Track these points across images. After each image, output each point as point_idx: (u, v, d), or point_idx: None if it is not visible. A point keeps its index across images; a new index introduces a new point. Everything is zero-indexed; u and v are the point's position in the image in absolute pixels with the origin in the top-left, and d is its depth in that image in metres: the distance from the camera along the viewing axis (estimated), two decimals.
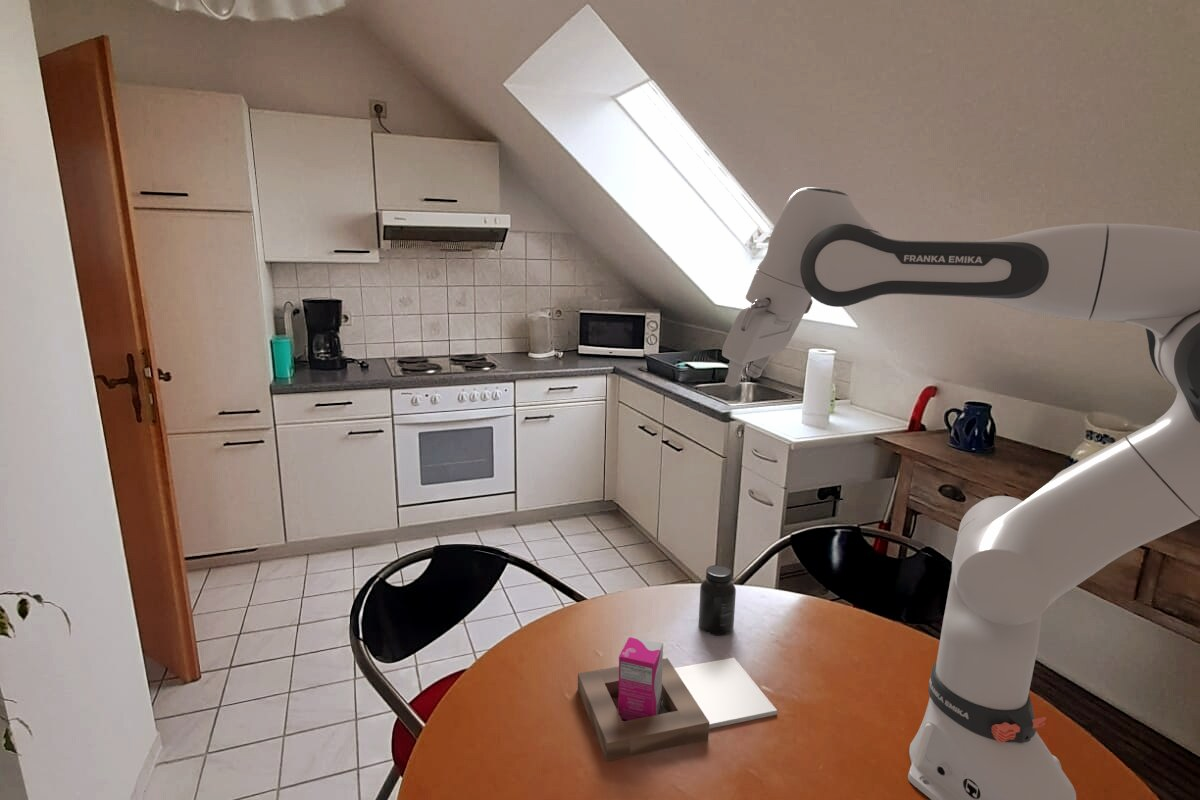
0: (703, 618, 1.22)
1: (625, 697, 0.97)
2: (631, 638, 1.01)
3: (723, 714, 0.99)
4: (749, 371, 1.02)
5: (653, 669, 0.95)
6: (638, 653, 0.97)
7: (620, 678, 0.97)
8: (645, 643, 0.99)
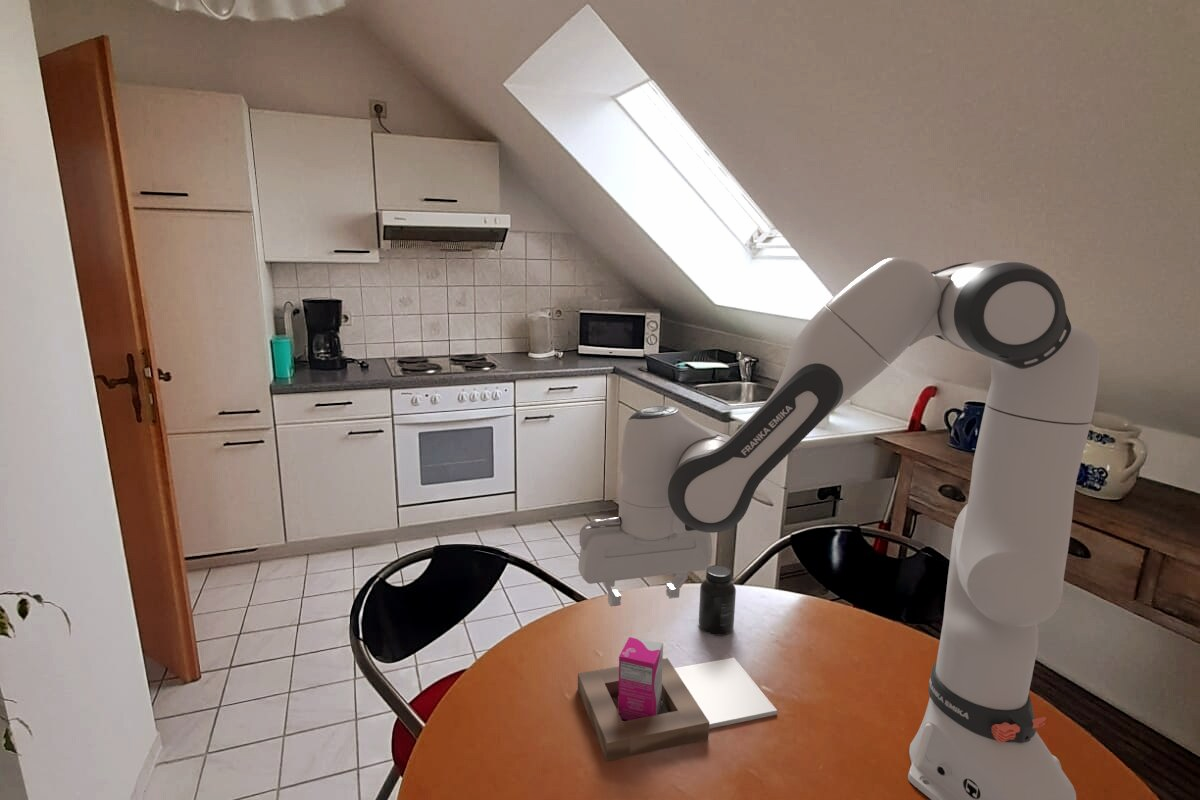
0: (703, 618, 1.22)
1: (625, 697, 0.97)
2: (631, 638, 1.01)
3: (723, 714, 0.99)
4: (666, 590, 0.98)
5: (653, 669, 0.95)
6: (638, 653, 0.97)
7: (620, 678, 0.97)
8: (645, 643, 0.99)
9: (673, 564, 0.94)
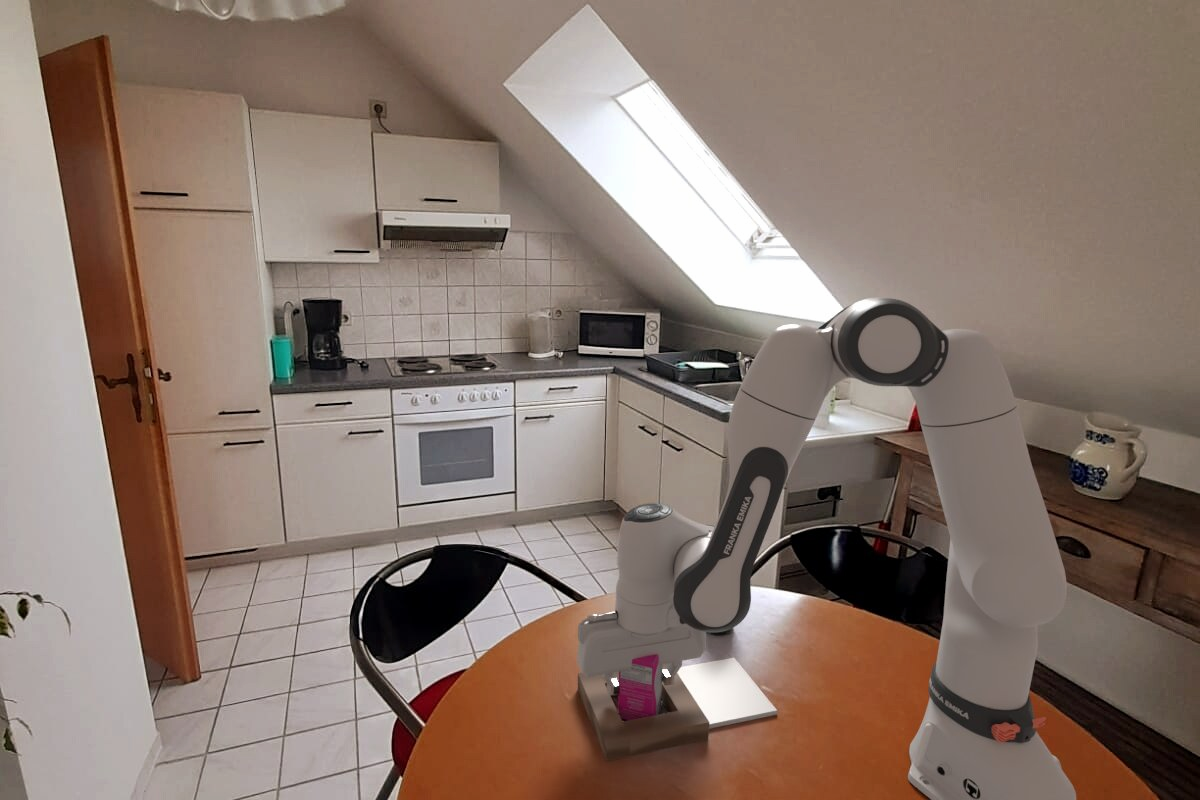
0: None
1: (625, 697, 0.97)
2: None
3: (723, 714, 0.99)
4: (662, 677, 1.01)
5: (653, 669, 0.95)
6: None
7: (620, 678, 0.97)
8: None
9: (669, 654, 0.97)
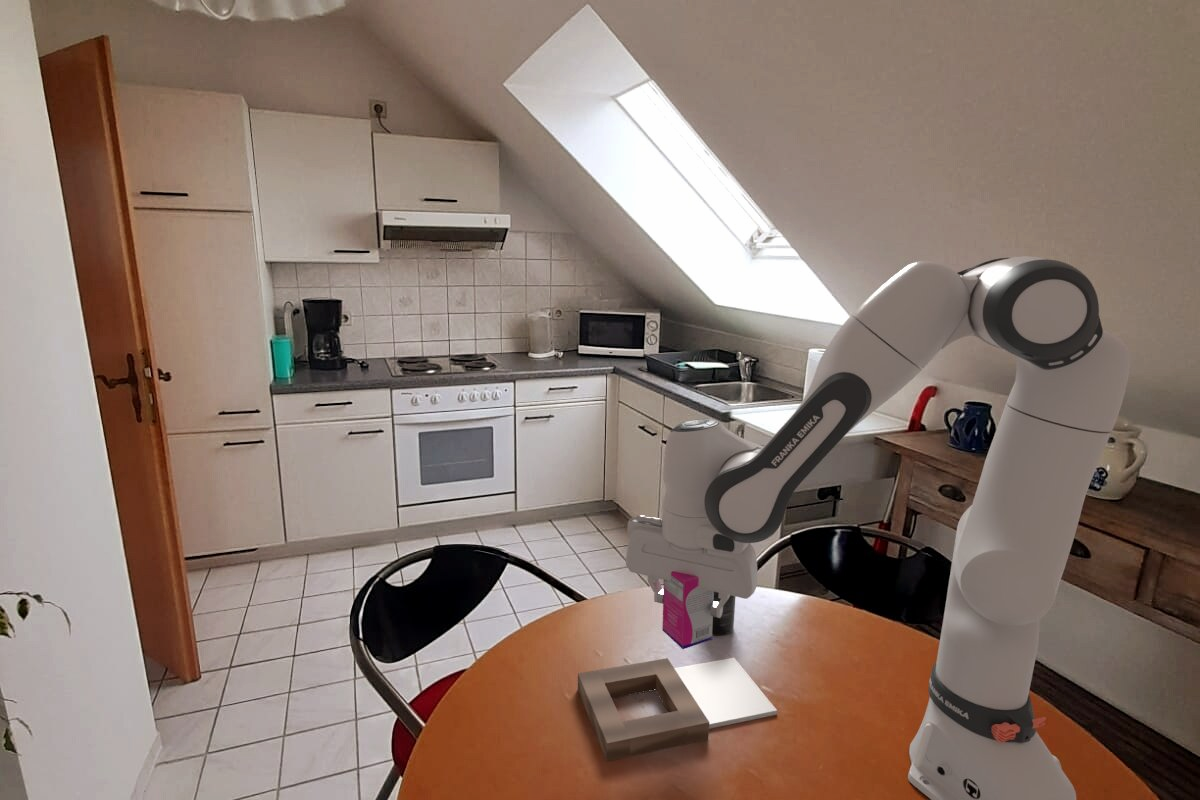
0: None
1: (666, 608, 0.99)
2: None
3: (723, 714, 0.99)
4: None
5: (684, 586, 0.94)
6: None
7: (664, 588, 0.99)
8: None
9: (709, 580, 0.94)
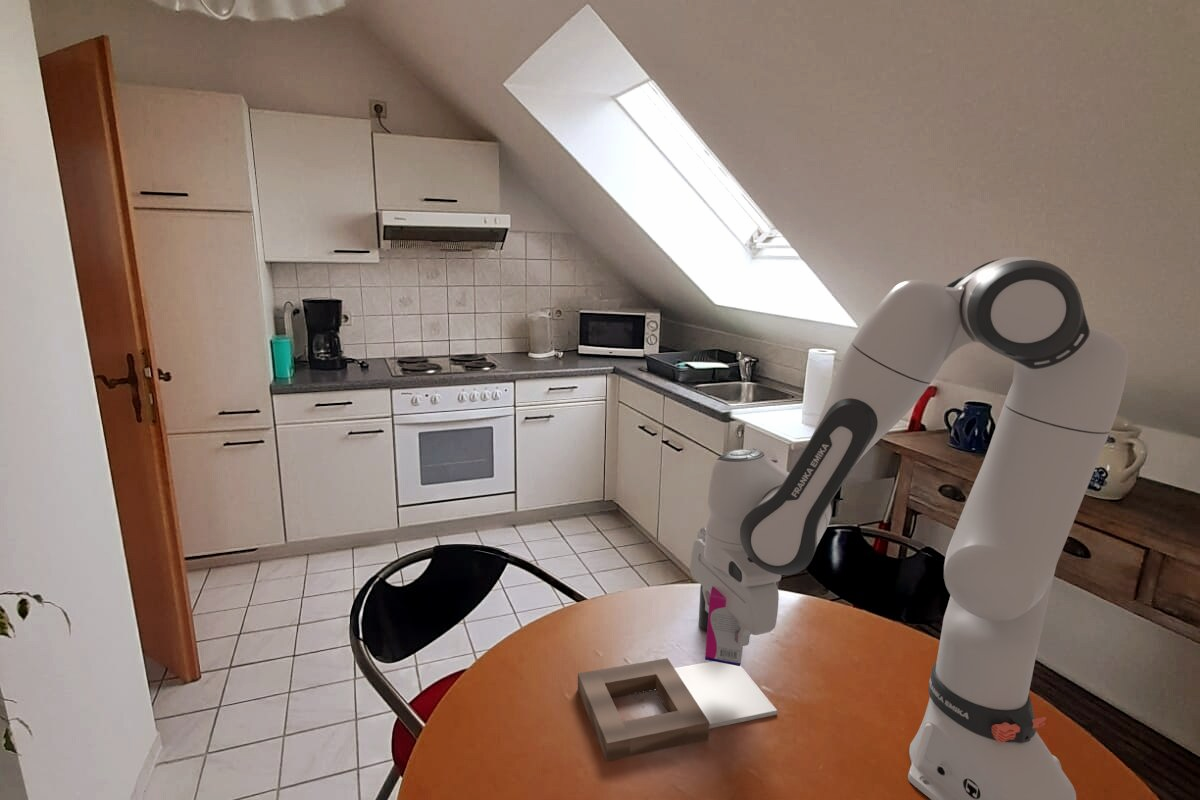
0: (703, 618, 1.22)
1: None
2: None
3: (723, 714, 0.99)
4: None
5: (710, 601, 1.00)
6: None
7: None
8: None
9: (731, 605, 0.98)
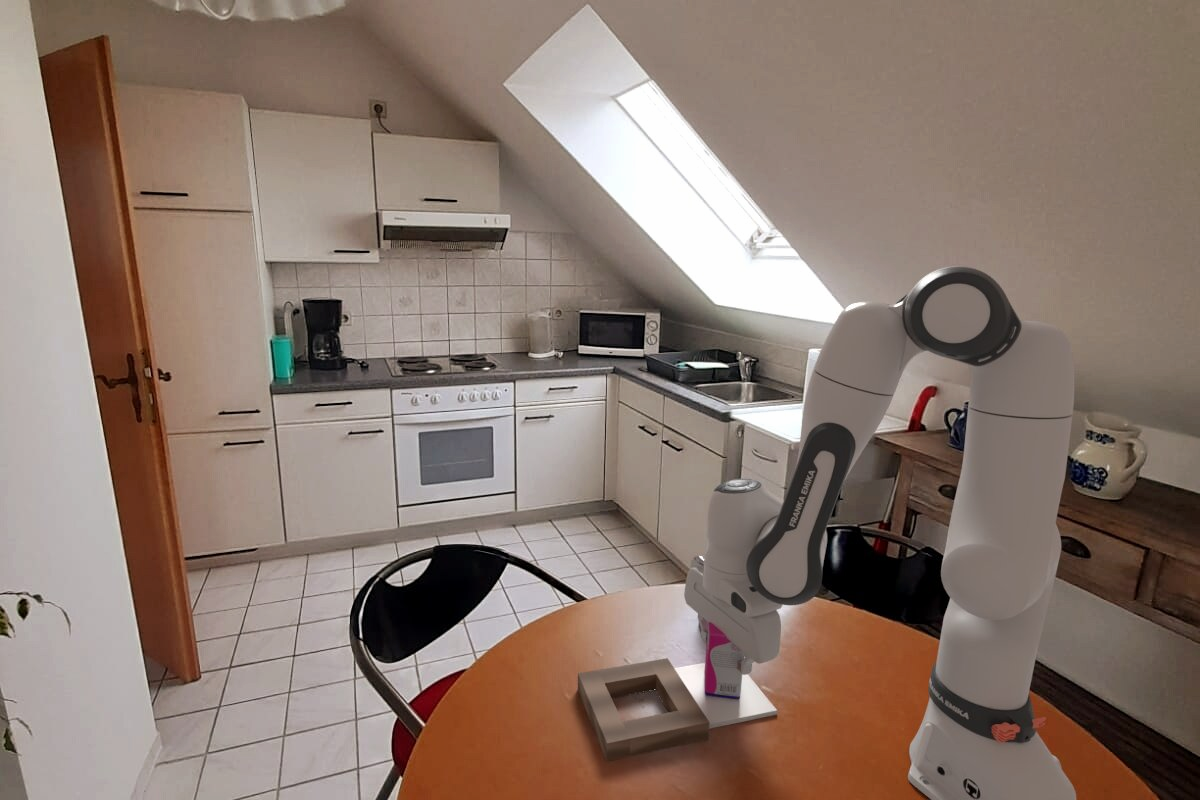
0: None
1: None
2: None
3: (723, 714, 0.99)
4: None
5: (709, 639, 1.01)
6: None
7: (707, 635, 1.07)
8: None
9: (733, 634, 0.99)
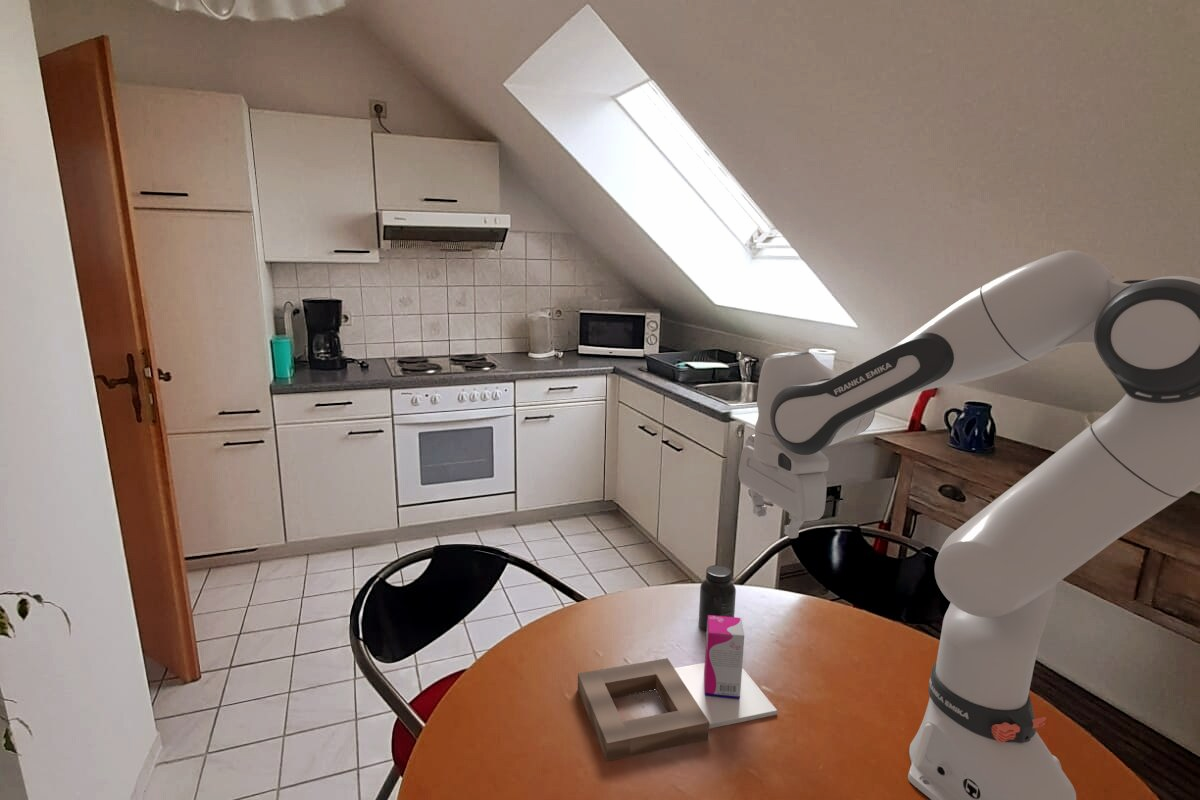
0: (703, 618, 1.22)
1: (705, 655, 1.07)
2: (738, 618, 1.05)
3: (723, 714, 0.99)
4: None
5: (708, 637, 1.01)
6: (718, 623, 1.04)
7: (706, 635, 1.07)
8: (736, 626, 1.03)
9: (781, 498, 1.03)
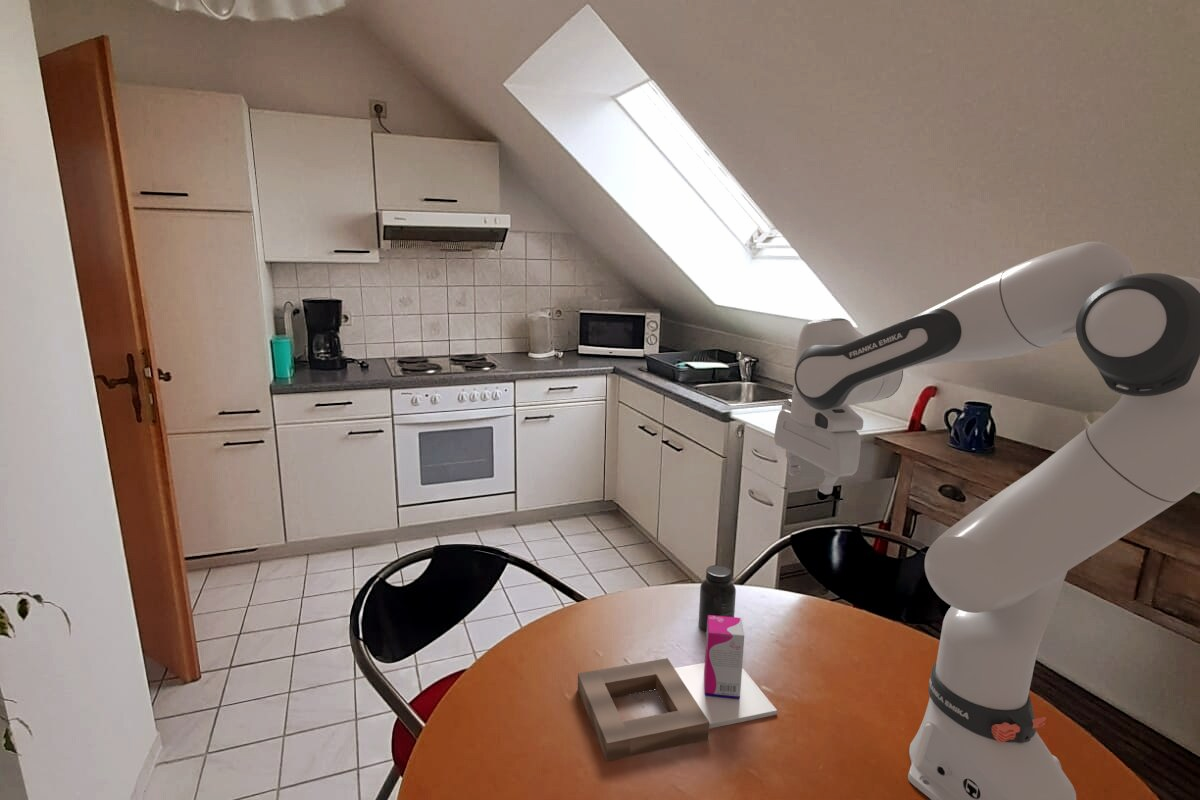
0: (703, 618, 1.22)
1: (705, 655, 1.07)
2: (738, 618, 1.05)
3: (723, 714, 0.99)
4: None
5: (708, 637, 1.01)
6: (718, 623, 1.04)
7: (706, 635, 1.07)
8: (736, 626, 1.03)
9: (816, 456, 1.10)
